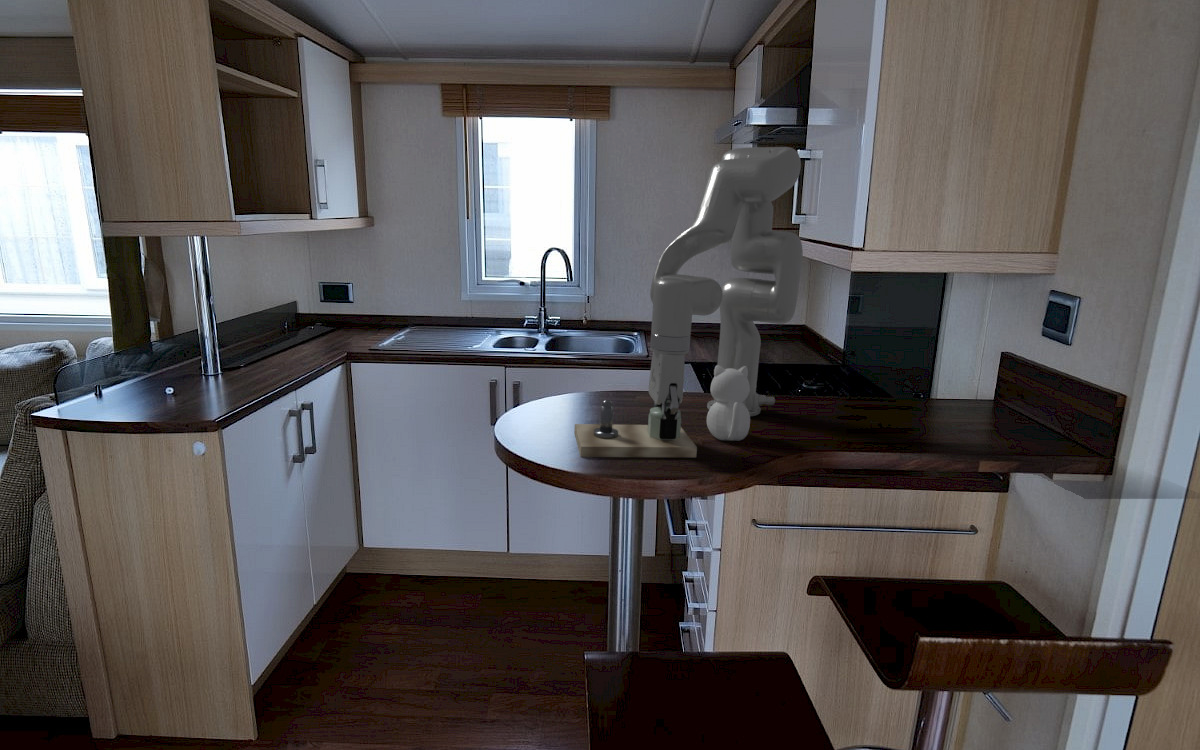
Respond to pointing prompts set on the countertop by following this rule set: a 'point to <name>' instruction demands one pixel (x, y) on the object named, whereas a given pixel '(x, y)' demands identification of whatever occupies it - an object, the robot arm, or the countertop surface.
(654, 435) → the cap
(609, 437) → the pin
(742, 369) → the cat figurine
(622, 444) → the board
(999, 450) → the countertop surface
